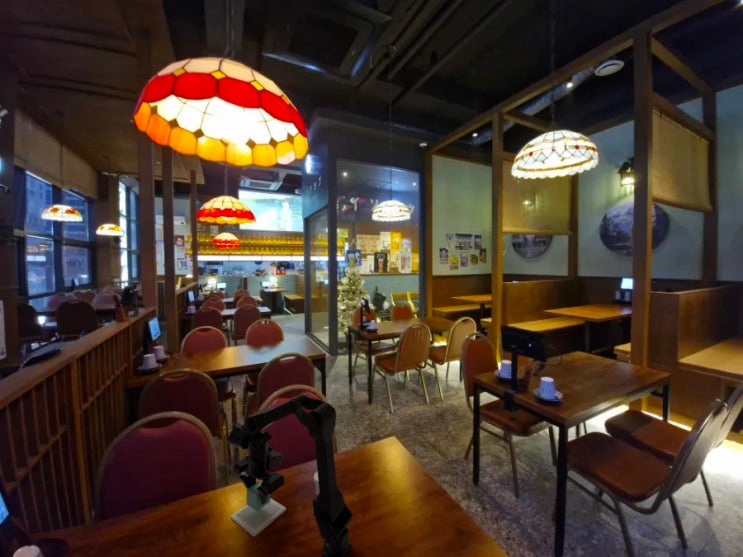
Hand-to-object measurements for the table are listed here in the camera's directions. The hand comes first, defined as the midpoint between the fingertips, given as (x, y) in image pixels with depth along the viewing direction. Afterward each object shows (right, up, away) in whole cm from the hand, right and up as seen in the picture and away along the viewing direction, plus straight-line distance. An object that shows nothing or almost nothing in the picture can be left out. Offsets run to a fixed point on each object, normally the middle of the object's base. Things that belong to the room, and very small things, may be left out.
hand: (258, 500), depth 100 cm
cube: (0, -1, 0) cm, 1 cm away
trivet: (0, -5, 0) cm, 5 cm away
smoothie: (+20, -5, +5) cm, 21 cm away
